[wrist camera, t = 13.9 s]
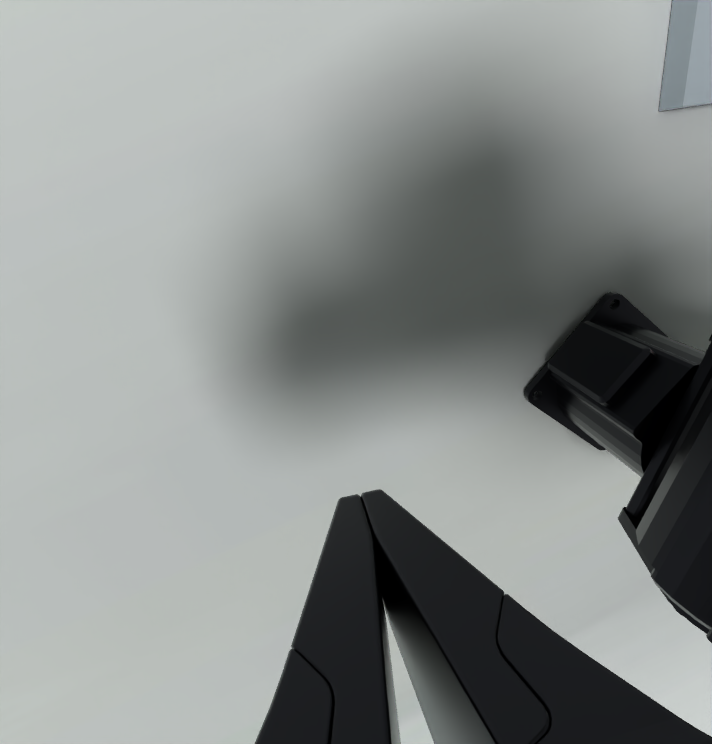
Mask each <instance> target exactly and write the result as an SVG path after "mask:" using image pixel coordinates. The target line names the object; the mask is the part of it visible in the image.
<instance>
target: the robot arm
mask: <svg viewBox="0 0 712 744" xmlns="http://www.w3.org/2000/svg"><path fill="white" fill-rule="evenodd" d="M613 300H614V303H613V305H612V306H611V307H610V303H611V301H613ZM709 341H711V343H710V345H709V347H708V349H707V351H706V352H703V351H701V350H698V349H696V348H693V347H691V346H688V345H686V344H683V343H680V342H678V341H675V340H673V339H670V338H669V337H667V336H666V335H665V334H664V333H663V332H662V331H661V330H660V329H659V328H658V327H656V326H655V325H654V324H653V323H652V322H651V321H650V320H649V319H648V318H647V317H645V316H644V315H643V314H642V313H641V312H640V311H639V310H638V309H637V308H636V307H634V306H633V305H632V304H631V303H630V302H629V301H628V300H627V299H626V298H624V297H623V296H622V295H620V294H618V293H615V292H609V293H607V294H605V295H604V296H603V297H602V298H601V299H600V300H599V302H598V303H597V304H596V305H595V306H594V308H593V309H592V310H591V311H590V312H589V314H588V315H587V316H586V317H585V318H584V320H583V321H582V322H581V323H580V324H579V326H578V327H577V328H576V329H575V330H574V331H573V333H572V334H571V335H570V336H569V337H568V339H567V340H566V341H565V342H564V343H563V345H562V346H561V347H560V348H559V349H558V351H557V352H556V353H555V354H554V355H553V357H552V358H551V359H550V360H549V361H548V363H547V364H546V365H545V366H544V367H543V368H542V370H541V371H540V372H539V373H538V374H537V376H536V377H535V378H534V379H533V380H532V382H531V383H530V384H529V385H528V386H527V388H526V389H525V391H524V397H525V398H526V400H528V401H529V402H530V403H531V404H533V405H534V406H536V407H537V408H538V409H540V410H541V411H543V412H544V413H546V414H547V415H549V416H550V417H552V418H553V419H555V420H556V421H558V422H559V423H560V424H562V425H563V426H565V427H566V428H568V429H569V430H571V431H572V432H574V433H575V434H577V435H578V436H580V437H581V438H582V439H584V440H585V441H587V442H588V443H590V444H591V445H593V446H594V447H596V448H597V449H599V450H605V449H606V450H608V451H609V452H610V453H611V454H613V455H614V456H615V457H616V458H618V459H619V460H620V461H622V462H623V463H624V464H625V465H627V466H628V467H629V468H630V469H632V470H633V471H634V472H635V473H637V474H638V475H639V476H640V477H642V478H641V480H640V482H639V484H638V486H637V488H636V490H635V491H634V493H633V495H632V497H631V499H630V501H629V503H628V505H627V507H624V508H623V509H622V511H621V513H620V515H619V517H618V520H619V522H620V523H621V525H622V527H623V528H624V530H625V532H626V533H627V535H628V537H629V538H630V540H631V542H632V543H633V545H634V547H635V548H636V550H637V552H638V553H639V555H640V557H641V558H642V560H643V562H644V563H645V565H646V567H647V568H648V570H649V572H650V573H651V577H652V579H653V581H654V582H655V584H656V585H657V586H658V587H659V588H660V590H661V592H662V593H663V594H664V596H665V597H666V598H667V600H668V601H669V602H670V603H671V604H672V605H673V607H674V608H675V610H676V611H677V612H678V613H679V614H681V615H682V616H684V617H685V618H686V619H688V620H689V621H690V622H691V623H692V624H694V625H695V626H697V627H698V628H699V629H701V630H702V631H704V632H705V633H706V634H707V635H706V636H707V639H708V640H709V641H710V642H711V643H712V335H711V337H710V339H709ZM536 391H538V393H537V395H535V396H533V394H534V393H535V392H536ZM383 603H384V604H383ZM384 607H385V610H386V614H387V617H388V620H389V622H390V625H391V628H392V631H393V633H394V636H395V639H396V641H397V644H398V647H399V650H400V652H401V655H402V658H403V660H404V663H405V666H406V668H407V671H408V674H409V676H410V679H411V682H412V685H413V687H414V690H415V693H416V695H417V698H418V701H419V703H420V706H421V709H422V711H423V714H424V717H425V720H426V722H427V725H428V728H429V730H430V733H431V736H432V738H433V741H434V744H712V737H711V736H709V735H707V734H706V733H704V732H702V731H700V730H699V729H697V728H695V727H693V726H692V725H690V724H689V723H687V722H686V721H684V720H682V719H681V718H679V717H678V716H676V715H675V714H673V713H672V712H670V711H669V710H667V709H666V708H664V707H663V706H662V705H660V704H659V703H657V702H656V701H654V700H653V699H651V698H650V697H648V696H647V695H645V694H644V693H642V692H641V691H639V690H638V689H636V688H635V687H633V686H632V685H631V684H629V683H628V682H626V681H625V680H623V679H622V678H620V677H619V676H617V675H616V674H614V673H613V672H611V671H610V670H608V669H607V668H605V667H604V666H602V665H601V664H600V663H598V662H597V661H595V660H594V659H592V658H591V657H589V656H588V655H586V654H585V653H583V652H582V651H581V650H579V649H578V648H576V647H575V646H574V645H572V644H571V643H569V642H568V641H567V640H565V639H564V638H562V637H561V636H559V635H558V634H557V633H555V632H554V631H553V630H551V629H550V628H549V627H547V626H546V625H545V624H544V623H542V622H541V621H540V620H539V619H537V618H536V617H535V616H533V615H532V614H531V613H530V612H528V611H527V610H526V609H525V608H523V607H522V606H521V605H520V604H519V603H517V602H516V601H515V600H514V599H513V598H511V597H510V596H509V595H508V594H505V595H504V591H503V590H502V589H500V588H499V587H498V586H497V585H496V584H494V583H493V582H492V581H491V580H490V579H488V578H487V577H486V576H485V575H484V574H482V573H481V572H480V571H479V570H477V569H476V568H475V567H474V566H473V565H471V564H470V563H469V562H468V561H467V560H465V559H464V558H463V557H462V556H461V555H459V554H458V553H457V552H456V551H455V550H453V549H452V548H451V547H450V546H449V545H447V544H446V543H445V542H444V541H443V540H441V539H440V538H439V537H438V536H437V535H435V534H434V533H433V532H432V531H431V530H429V529H428V528H427V527H426V526H425V525H423V524H422V523H421V522H420V521H419V520H417V519H416V518H415V517H414V516H413V515H411V514H410V513H409V512H408V511H406V510H405V509H404V508H403V507H402V506H400V505H399V504H398V503H397V502H396V501H394V500H393V499H392V498H391V497H390V496H388V495H387V494H386V493H385V492H384V491H382V490H374V491H369V492H365V493H362V494H361V497H360V496H359V495H358V494H356V495H351V496H347V497H342V498H340V499H339V501H338V503H337V506H336V509H335V512H334V515H333V519H332V522H331V525H330V528H329V531H328V534H327V537H326V540H325V543H324V546H323V549H322V553H321V556H320V559H319V562H318V565H317V568H316V571H315V574H314V577H313V580H312V583H311V586H310V590H309V593H308V596H307V599H306V602H305V605H304V608H303V611H302V614H301V617H300V620H299V624H298V627H297V630H296V633H295V636H294V639H293V642H292V645H291V647H292V649H291V650H290V651H289V654H288V657H287V660H286V663H285V666H284V669H283V672H282V675H281V678H280V681H279V683H278V686H277V689H276V692H275V695H274V697H273V700H272V703H271V706H270V708H269V711H268V713H267V716H266V718H265V720H264V723H263V725H262V727H261V730H260V732H259V735H258V737H257V739H256V742H255V744H401V742H400V733H399V725H398V716H397V708H396V699H395V691H394V682H393V674H392V665H391V657H390V649H389V640H388V632H387V624H386V617H385V610H384Z"/></svg>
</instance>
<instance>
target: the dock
mask: <svg viewBox="0 0 712 744" xmlns="http://www.w3.org/2000/svg"><path fill="white" fill-rule="evenodd" d="M708 104H712V0H673V1H672V9H671V17H670V25H669V33H668V41H667V49H666V57H665V65H664V73H663V81H662V89H661V97H660V105H659V111H665V110H672V109H679V108H687V107H694V106H701V105H708Z"/></svg>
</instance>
